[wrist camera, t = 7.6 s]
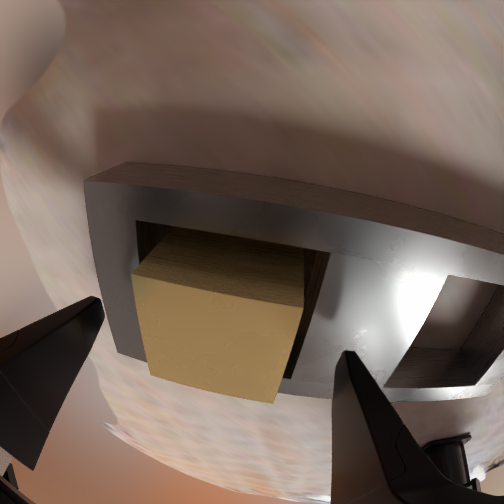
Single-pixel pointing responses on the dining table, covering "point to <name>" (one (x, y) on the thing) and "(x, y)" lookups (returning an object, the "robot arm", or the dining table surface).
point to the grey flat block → (314, 271)
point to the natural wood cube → (220, 311)
